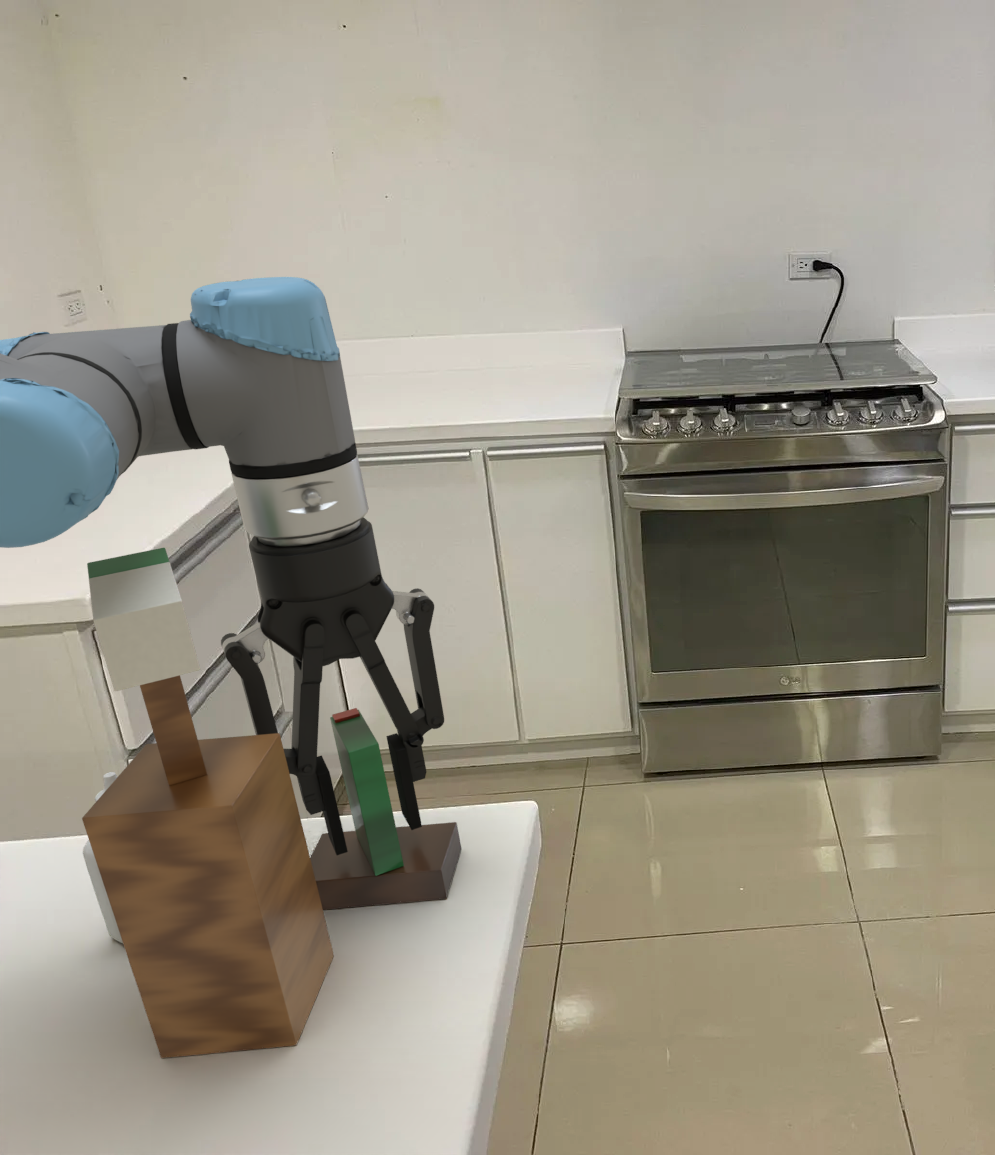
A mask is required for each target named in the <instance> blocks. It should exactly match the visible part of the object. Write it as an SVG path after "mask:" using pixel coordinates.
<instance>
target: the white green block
mask: <svg viewBox="0 0 995 1155" xmlns="http://www.w3.org/2000/svg"><path fill="white" fill-rule="evenodd" d="M86 568H87V574H88V576H87V577H88V584H89V594H90V602H91V611H92V612H91V614H92V620H93V624H94V628H95V631H96V634H97V638H98V641H99V644H100V647H101V651H102V654H103V657H104V661H105V664H106V668H107V670H108V674H109V677H110V680H111V684H112V687H113V690H114V692H119V691H123V690H127V689H131V688H134V687H135V688H136V687H140V685H143V684H147V683H151V682H155V681H159V680H163V679H167V678H171V677H175V676H179V675H180V676H183V675H187V674H191V673H195V672H200V671H201V667H200V663H199V658H198V655H197V652H196V647H195V644H194V640H193V636H192V633H191V628H190V625H189V621H188V618H187V613H186V610H185V606H184V603H183V599H182V596H181V593H180V590H179V587H178V583H177V581H176V577H175V574H174V571H173V568H172V565H171V562H170V559H169V556H168V552H167V549H166V547H159V548H154V549H149V550H145V551H140V552H135V553H130V554H129V553H128V554H124V555H120V556H114V557H110V558H105V559H101V560H96V561H90V562H87V564H86Z"/></svg>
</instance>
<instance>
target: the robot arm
mask: <svg viewBox="0 0 995 1155" xmlns="http://www.w3.org/2000/svg"><path fill="white" fill-rule="evenodd" d="M190 306H191V312H190V313H189V318H190V319H186V320H181V321H179V322H173V323H167V324H162V325H160V324H159V325H147V326H134V327H122V328H121V327H120V328H109V329H108V328H107V329H97V330H82V331H70V332H56V333H54V332H53V333H50V332H49V331H39V332H38V331H37V332H34V331H33V332H32V333H29V334H28V335H23V336H18V337H13V338H12V337H11V338H6V339H5V338H4V339H0V548H2V549H3V548H4V549H5V548H6V549H11V548H23V547H29V546H34V545H38V544H41V543H45V542H48V541H50V540H52V539H55V538H57V537H58V536H60V535H62V534H64V533H65V532H67V531H68V530H69V529H71V528H73V527H74V526H75V525H76V524H78V523H80V522H81V521H84V519H85V520H86V518H88V517H89V516H90V515H91V514H92V513H94V512H95V511H96V510H98V509H99V508H100V507H101V505H102V503H103V502H104V501H105V499H106V497H107V496H109V495H111V493H112V491H113V489H115V485H116V482H117V481H118V479H119V478H120V477H121V476H122V475H123V474H124V473H125V472H126V471H127V470H128V469H129V468H130V467H131V465H132V464H133V463H134V462H135V461H136V460H137V459H138V458H140V457H143V456H145V457H146V456H152V455H158V454H159V455H160V454H166V453H167V454H168V453H172V452H173V453H174V452H183V451H190V450H203V449H209V448H210V447H217V446H222V447H224V448H223V449H224V451H225V453H226V455H227V458H228V464H229V465H228V466H229V469H230V472H231V478H232V483H233V486H234V490H235V495H236V499H237V503H238V507H239V511H240V512H239V513H240V515H241V520H242V524H243V528H244V530H245V532H246V533H247V534H249V535H252V538H251V540H250V541H249V543H248V548H249V552H250V557H251V561H252V565H253V569H254V574H255V578H256V582H257V586H258V591H259V595H260V600H261V601H260V603H261V604H260V608H259V611H258V614H257V622H256V623H255V624H253V625H251V626H250V627H248V628H246V629H245V630H243V631H242V632H240V633H238V634H237V633H234V632H229V633H226V634H224V635H223V636H222V638H221V639H220V646H221V648H222V651H223V654H224V657H225V658H226V660H227V662H228V663H229V664H230V665H231V667H232V668H233V670H234V671H235V673H237V674H238V676H239V677H240V682H241V684H242V688H243V692H244V695H245V699H246V703H247V707H248V711H249V714H250V718H251V722H252V725H253V729H254V733H255V735H263V734H276V733H279V732H278V728H277V724H276V721H275V717H274V713H273V709H272V708H273V707H272V705H271V701H270V697H269V693H268V690H267V685H266V681H265V679H264V676H263V673H262V670H261V668H260V665H259V664H260V663H261V662H263V661H264V660H265V657H266V651H265V648H264V645H265V643H266V642H267V641H268V640H269V641H271V642H273V643H274V644H275V645H277V646H278V647H280V648H281V649H283V650H284V651H285V652H287V653H288V654H289V655H291V656H292V657H293V658H292V659H293V660H292V664H293V693H292V694H293V695H292V696H293V697H292V720H291V721H292V724H291V748H283V749H284V753H285V757H286V761H287V766H288V770H289V774H290V775H293V776H295V777H296V779H297V783H298V787H299V788H298V789H299V792H300V795H301V799H302V803H303V805H304V807H305V810H306V811H307V812H308V814H309V815H310V816H313V815H316V814H318V813H322V814H323V818H324V822H325V827H326V831H327V833H328V835H329V838H330V841H331V843H332V846H333V848H334V850H335V853H336V855H340V854H343V853H346V852H348V850H347V846H346V842H345V837H344V833H343V832H344V829H343V824H342V821H341V820H342V819H341V817H340V812H339V807H338V802H337V799H336V794H335V790H334V784H333V781H332V777H331V772H330V770H329V767H328V765H327V764H326V762H325V759H324V757H323V755H318V742H319V720H320V698H321V697H320V696H321V683H322V681H323V668H324V667H326V666H329V665H332V664H333V663H335V662H337V661H339V660H349V659H350V660H351V659H357V658H359V659H360V660H361V663H362V665H363V666H364V668H365V669H366V672H367V674H368V676H369V678H370V680H371V682H372V684H373V686H374V688H375V690H376V692H377V694H378V695H379V698H380V699H381V701H382V704H383V705H384V707H385V710H386V711H387V713H388V715H389V717H390V720H391V721H392V723H393V725H394V727H395V729H396V731H397V732H396V733H392V734H389V735H386V741H387V746H388V750H389V756H390V761H391V765H392V771H393V775H394V780H395V785H396V790H397V795H398V800H399V805H400V809H401V810H400V811H401V814H402V816H403V817H404V819H405V821H406V823H407V824H408V825H407V826H410V828H411V830H414V829H417V828H420V827H422V825H423V824H422V819H421V815H420V809H419V804H418V800H417V794H416V788H415V785H414V783H415V782H418V781H421V780H425V779H426V776H427V772H428V771H427V767H426V762H425V757H424V751H423V744H424V741H425V739H424V735H425V734H426V733H428V732H429V731H431V730H432V729H433V730H437V729H440V728H442V726H443V725H444V723H445V715H444V714H445V713H444V709H443V708H444V707H443V703H442V696H441V691H440V685H439V679H438V673H437V668H436V667H437V666H436V661H435V660H436V659H435V656H434V654H435V653H434V650H433V643H432V637H431V632H430V631H431V627H432V626H431V625H432V622H433V617H434V612H435V603H434V602H433V600H432V599H431V598H430V597H429V596H428V594H426V593H425V591H424V590H422V588H413V589H411V590H410V591H409V592H408V591H397V590H396V591H395V590H393V589H391V587H389V585H388V583H386V582H385V580H384V578H383V574H382V571H381V570H382V569H381V565H380V559H379V555H378V554H379V553H378V548H377V544H376V539H375V534H374V529H373V524H372V522H370V521H369V520H368V519H367V518H365V516H366V515H367V514H368V512H369V505H368V499H367V494H366V490H365V484H364V479H363V475H362V474H363V473H362V470H361V464H360V460H359V456H358V449H357V444H356V438H355V433H354V426H353V420H352V415H351V410H350V404H349V398H348V393H347V388H346V387H347V386H346V382H345V376H344V370H343V365H342V359H341V352H340V348H339V347H338V344H337V340H336V337H335V333H334V329H333V324H332V321H331V320H332V319H331V316H330V312H329V307H328V304H327V300H326V297H325V294H324V293H323V290H322V289H321V288H320V287H319V286H318V285H317V284H315V282H313V281H311V280H309V279H306V278H303V277H297V276H271V277H270V276H269V277H256V278H254V277H253V278H247V279H241V280H230V281H229V280H228V281H227V280H226V281H219V282H214V283H210V284H206V285H202V286H200V287H197V288H196V289H194V290H193V292H192V293H191V296H190ZM392 610H395V615H396V616H395V617H397V619H398V620H399V621H400V623H401V624H402V625H403V631H404V637H405V643H406V648H407V654H408V660H409V665H410V671H411V676H412V677H411V678H412V682H413V688H414V694H415V699H416V704H417V709H416V710H414V711H413V712H411V711H410V709H409V707H408V705H407V703H406V701H405V699H404V697H403V695H402V693H401V691H400V689H399V687H398V685H397V683H396V681H395V679H394V677H393V675H392V672H391V671H390V669H389V667H388V665H387V663H386V660H385V658H384V656H383V655H382V652H381V650H380V648H379V646H378V643H377V642H376V640H377V638H378V637H379V634H380V633H381V631H382V628H383V626H384V625H385V623H386V621H387V619H388V617H389V615H390V612H391V611H392Z"/></svg>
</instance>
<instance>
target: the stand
mask: <svg viewBox="0 0 995 1155" xmlns="http://www.w3.org/2000/svg"><path fill="white" fill-rule="evenodd" d="M139 688H140V692H141V695H142V699H143V703H144V705H145V708H146V712H147V715H148V720H149V723H150V726H151V729H152V732H153V737H154V739H155V742H154V743H146V744H145V745H144V746H143V747H142V748H141V749H140V750H139V752H138V753H136V755H135V756H134V757H133V759H132V760H131V761H130V762H129V763H128V765H127V766H126V767H125V768H123V770H122V771H121V773H120V774H119V775H117V778H116V779H115V781H114V782H113V783H112V784H111V785H110V786H109V788H108V789H107V790H106V791H105V792H104V793H103V794H102V796H101V797H100V798H99V799H98V800H97V801H96V802H94V804H93V805H92V806H91V807H90V808H89V809H88V810H87V812H86V813H85V814H84V815H83V816H82V817H81V821H82V823H83V827H84V829H85V832H86V835H87V838H88V840H89V841H90V844H91V848H92V851H93V854H94V857H95V860H96V863H97V866H98V869H99V872H100V875H101V878H102V881H103V884H104V887H105V890H106V893H107V896H108V899H109V902H110V905H111V908H112V911H113V914H114V917H115V920H116V923H117V926H118V929H119V932H120V935H121V938H122V941H123V943H122V944H123V947H124V950H125V953H126V957H127V959H128V962H129V966H130V969H131V972H132V975H133V977H134V981H135V984H136V987H137V990H138V993H139V996H140V999H141V1002H142V1005H143V1008H144V1011H145V1014H146V1017H147V1020H148V1023H149V1026H150V1029H151V1032H152V1035H153V1038H154V1041H155V1044H156V1047H157V1050H158V1053H159V1056H160V1058H161V1059H166V1058H167V1059H168V1058H177V1057H188V1056H198V1055H208V1054H218V1053H227V1052H228V1053H230V1052H239V1051H251V1050H261V1049H271V1048H281V1047H293V1046H294V1047H295V1046H297V1045H298V1043H299V1040H300V1038H301V1035H302V1032H303V1030H304V1028H305V1026H306V1024H307V1021H308V1018H309V1016H310V1014H311V1011H312V1009H313V1006H314V1005H315V1002H316V999H317V997H318V994H319V993H320V990H321V987H322V985H323V983H324V980H325V978H326V976H327V973H328V970H329V969H330V967H331V966H330V965H331V963H332V962H333V959H334V956H335V954H334V949H333V946H332V942H331V937H330V934H329V930H328V926H327V920H326V917H325V913H324V910H323V909H322V905H321V900H320V896H319V892H318V888H317V884H316V880H315V876H314V872H313V868H312V864H311V860H310V857H311V855H310V852H309V848H308V843H307V839H306V835H305V831H304V827H303V823H302V819H301V815H300V810H299V807H298V802H297V798H296V796H295V795H296V794H295V790H294V786H293V783H292V777H291V774H289V770H288V766H287V761H286V757H285V753H284V749H285V748H284V746H283V741H282V737H281V734H280V733H279V732H278V733H276V734H263V735H256V734H253V735H252V734H251V735H242V736H241V735H240V736H239V735H238V736H229V737H226V736H225V737H216V738H202V739H198V736H197V732H196V728H195V725H194V720H193V717H192V713H191V711H190V706H189V702H188V699H187V696H186V692H185V688H184V685H183V681H182V678H181V675H179V676H175V677H171V678H167V679H163V680H159V681H155V682H151V683H147V684H143V685H139Z"/></svg>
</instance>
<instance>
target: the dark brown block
mask: <svg viewBox="0 0 995 1155" xmlns="http://www.w3.org/2000/svg"><path fill="white" fill-rule="evenodd" d="M396 830H397V835H398V840H399V845H400V849H401V854H402V859H403V864H404V866H402V867H400V868H397V869H394V870H391V871H388V872H385V873H383V874H380V875H377V876H375V874H374V872H373V870H372V868H371V865H370V863H369V861H368V859H367V857H366V855H365V853H364V850H363V848H362V846H361V844H360V842H359V840H358V838H357V835H356V831H355V830H348V831H347V830H346V831H343V833H344V837H345V842H346V846H347V850H348V852H346V853H343V854H340V855H336V853H335V850H334V848H333V846H332V843H331V841H330V838H329V835H328V832H325V833H323V832H322V834H321V835H320V837H319V839H318V842H317V843H316V845H315V847H314V849H313V851H312V853H311V855H310V860H311V864H312V868H313V872H314V876H315V880H316V884H317V888H318V892H319V896H320V900H321V905H322V909H323V911H324V910H335V909H347V908H358V907H370V906H381V905H392V904H403V903H404V904H405V903H414V902H426V901H437V900H446V899H447V898H448V895H449V892H450V889H451V885H452V882H453V878H454V876H455V872H456V869H457V867H458V866H457V865H458V862H459V859H460V856H461V854H462V853H461V852H462V844H461V839H460V834H459V833H460V832H459V826H458V822H457V821H453V822H440V823H431V824H430V823H429V824H422V827H420V828H417V829H414V830H411V828H410V826H409V825H405V826H396Z"/></svg>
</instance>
